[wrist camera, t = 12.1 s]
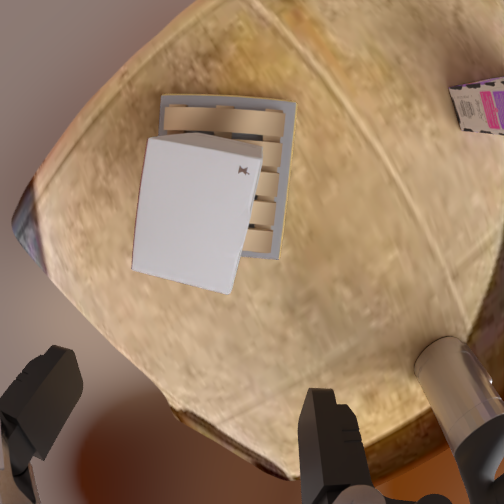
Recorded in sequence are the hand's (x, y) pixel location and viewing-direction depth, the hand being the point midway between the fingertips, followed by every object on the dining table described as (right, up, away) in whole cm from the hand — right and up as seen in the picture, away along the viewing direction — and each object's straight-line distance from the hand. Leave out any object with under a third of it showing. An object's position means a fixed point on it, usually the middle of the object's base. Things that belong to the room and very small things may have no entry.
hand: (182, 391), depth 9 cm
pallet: (-1, +12, +21) cm, 24 cm away
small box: (-1, +11, +19) cm, 22 cm away
